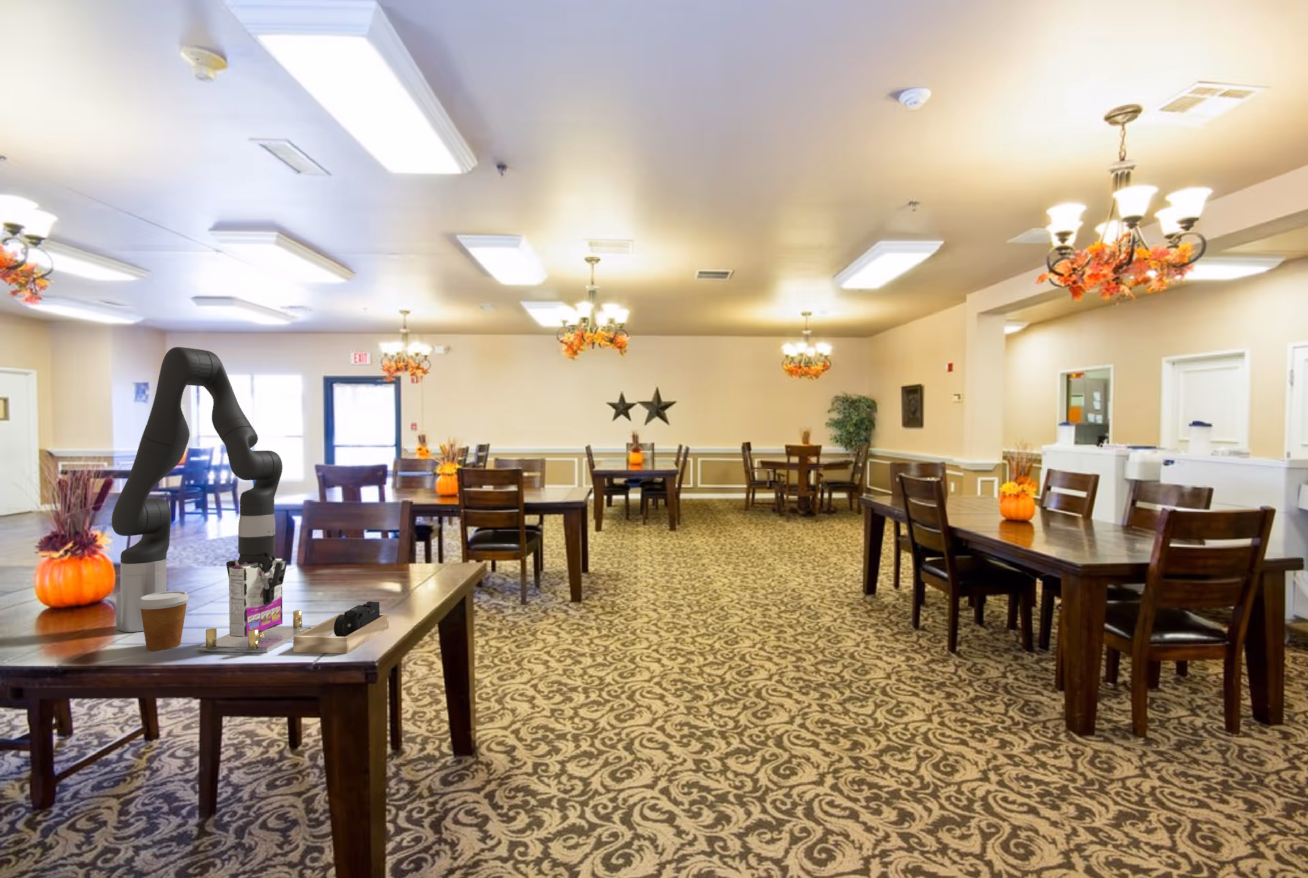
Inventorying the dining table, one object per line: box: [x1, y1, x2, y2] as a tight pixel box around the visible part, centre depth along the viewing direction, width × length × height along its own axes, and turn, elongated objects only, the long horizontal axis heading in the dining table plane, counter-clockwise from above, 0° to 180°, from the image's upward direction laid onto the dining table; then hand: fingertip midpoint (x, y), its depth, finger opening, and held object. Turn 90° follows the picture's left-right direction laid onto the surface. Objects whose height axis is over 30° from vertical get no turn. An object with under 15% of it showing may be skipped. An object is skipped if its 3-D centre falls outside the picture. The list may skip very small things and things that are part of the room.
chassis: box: [194, 609, 312, 654], centre depth 150 cm, size 16×18×5 cm
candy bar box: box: [228, 557, 284, 637], centre depth 150 cm, size 11×5×16 cm, turn 169°
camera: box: [333, 600, 381, 637], centre depth 154 cm, size 14×7×8 cm, turn 178°
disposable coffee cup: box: [138, 590, 190, 652], centre depth 146 cm, size 10×10×12 cm
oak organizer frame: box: [292, 612, 390, 654], centre depth 151 cm, size 13×20×4 cm, turn 177°
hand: (256, 603), depth 150 cm, fingers closed on candy bar box, 5 cm apart
